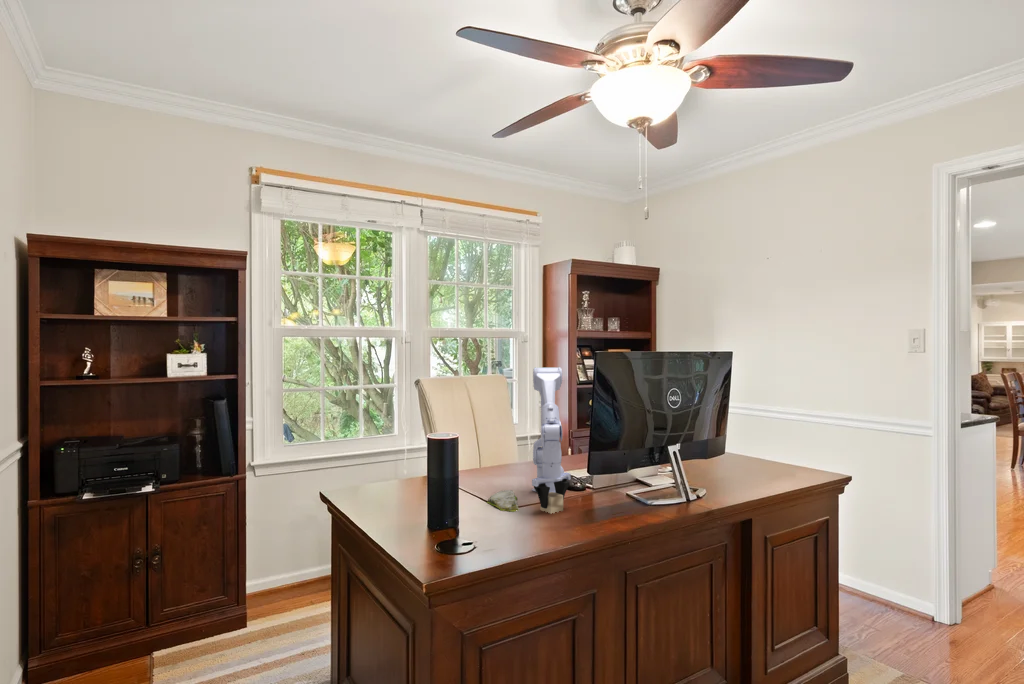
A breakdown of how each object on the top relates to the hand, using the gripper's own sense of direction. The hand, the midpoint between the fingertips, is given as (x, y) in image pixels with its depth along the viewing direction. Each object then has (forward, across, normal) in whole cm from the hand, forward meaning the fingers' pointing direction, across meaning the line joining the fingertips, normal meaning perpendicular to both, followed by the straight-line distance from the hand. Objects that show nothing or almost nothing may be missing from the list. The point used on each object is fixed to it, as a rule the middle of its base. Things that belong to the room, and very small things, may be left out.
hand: (551, 505), depth 176 cm
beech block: (+2, 0, 0) cm, 2 cm away
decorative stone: (+2, -6, +18) cm, 19 cm away
